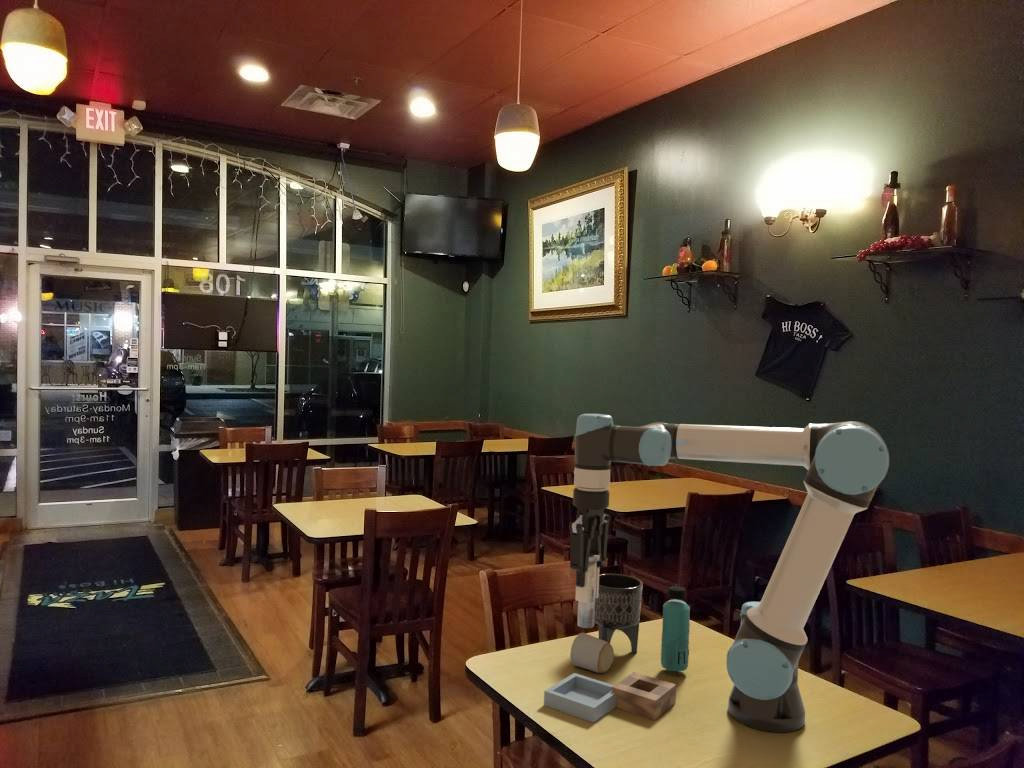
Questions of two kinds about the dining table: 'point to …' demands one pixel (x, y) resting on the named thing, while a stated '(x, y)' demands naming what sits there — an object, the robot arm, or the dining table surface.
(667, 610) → the beverage bottle
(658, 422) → the robot arm
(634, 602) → the planter
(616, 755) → the dining table surface
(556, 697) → the tray
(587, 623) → the pin
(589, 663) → the ceramic mug
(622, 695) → the block
